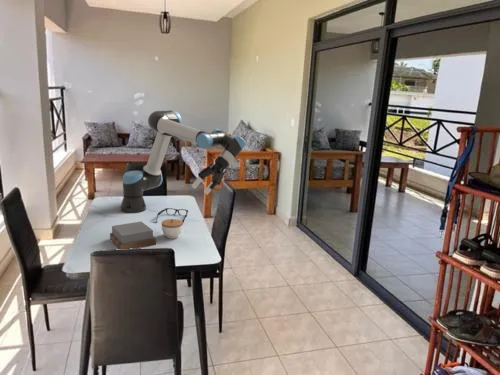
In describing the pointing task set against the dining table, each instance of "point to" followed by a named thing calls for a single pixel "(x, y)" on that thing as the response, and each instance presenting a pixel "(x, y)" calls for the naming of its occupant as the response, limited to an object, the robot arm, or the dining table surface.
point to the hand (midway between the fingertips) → (199, 190)
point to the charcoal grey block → (132, 232)
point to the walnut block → (133, 243)
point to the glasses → (173, 214)
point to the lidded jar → (172, 228)
